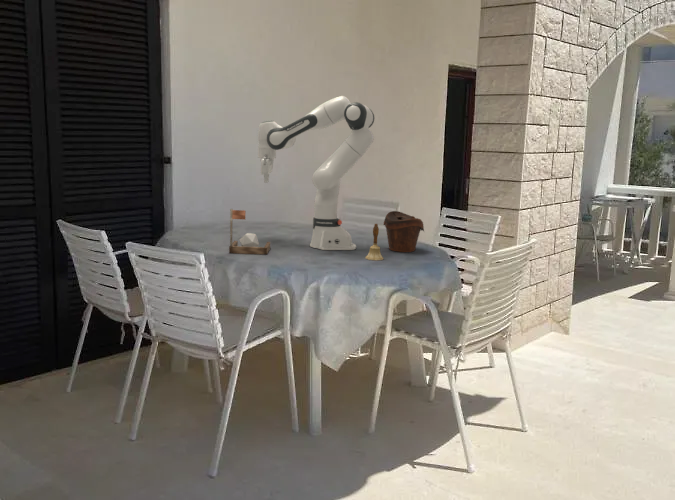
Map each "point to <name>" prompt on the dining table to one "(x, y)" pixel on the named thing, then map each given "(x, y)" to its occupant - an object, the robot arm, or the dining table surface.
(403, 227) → the brown lidded bucket
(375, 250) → the hand bell
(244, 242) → the die
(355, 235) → the dining table surface
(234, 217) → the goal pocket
